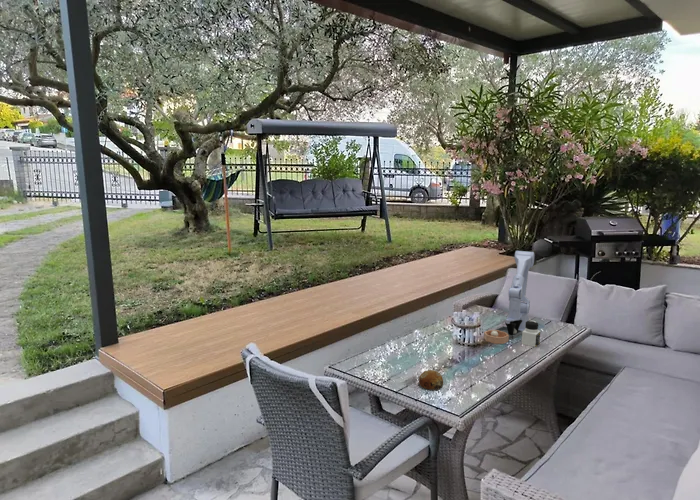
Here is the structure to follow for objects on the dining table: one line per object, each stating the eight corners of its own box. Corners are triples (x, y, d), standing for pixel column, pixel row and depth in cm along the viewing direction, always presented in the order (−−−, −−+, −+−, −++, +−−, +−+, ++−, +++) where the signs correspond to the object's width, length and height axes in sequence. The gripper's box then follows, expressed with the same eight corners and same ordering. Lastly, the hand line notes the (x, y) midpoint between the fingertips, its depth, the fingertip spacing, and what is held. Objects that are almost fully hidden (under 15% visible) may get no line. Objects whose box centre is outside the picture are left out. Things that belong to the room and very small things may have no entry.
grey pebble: (511, 333, 259) (511, 326, 258) (518, 335, 256) (518, 328, 255) (507, 335, 256) (508, 328, 255) (514, 337, 253) (514, 330, 252)
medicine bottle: (535, 347, 239) (537, 324, 237) (521, 344, 243) (522, 322, 242) (539, 343, 245) (541, 321, 243) (525, 340, 249) (527, 318, 247)
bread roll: (441, 389, 201) (439, 370, 203) (446, 389, 191) (445, 369, 193) (417, 389, 200) (416, 370, 202) (422, 390, 190) (421, 369, 193)
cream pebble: (492, 336, 254) (493, 329, 253) (499, 338, 251) (500, 331, 251) (488, 337, 251) (489, 330, 251) (495, 339, 248) (496, 332, 248)
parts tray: (503, 329, 267) (503, 325, 266) (523, 334, 258) (523, 331, 258) (491, 334, 258) (492, 330, 258) (512, 340, 250) (512, 336, 249)
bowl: (491, 335, 258) (491, 328, 257) (511, 340, 249) (512, 333, 249) (480, 340, 250) (480, 333, 249) (500, 345, 241) (500, 339, 241)
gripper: (513, 305, 261) (512, 328, 264) (500, 310, 251) (499, 334, 254) (526, 307, 256) (524, 331, 259) (513, 313, 246) (511, 338, 249)
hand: (512, 333), depth 256 cm, fingers open, 5 cm apart
